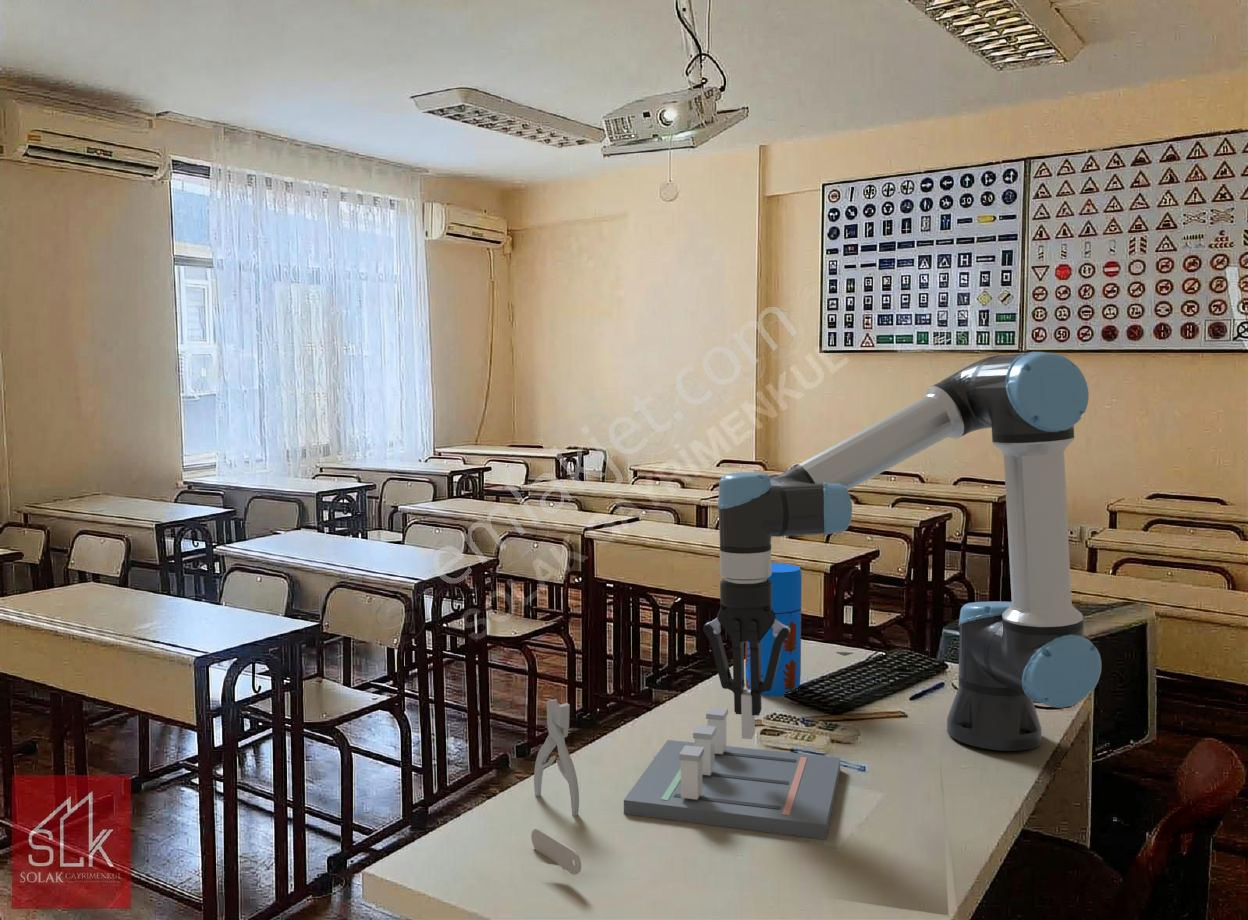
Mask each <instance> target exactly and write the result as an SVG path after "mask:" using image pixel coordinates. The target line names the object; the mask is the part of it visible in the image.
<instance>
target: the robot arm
mask: <svg viewBox="0 0 1248 920" xmlns="http://www.w3.org/2000/svg"><path fill="white" fill-rule="evenodd" d="M1089 399H1090V398H1089V387H1088V383H1087V380H1086V377H1085V375H1084V374H1083V372H1082V370H1081V368H1079V367H1078V366H1077V364H1075V363H1074V362H1073V361H1072V360H1071V359H1069V358H1068V357H1066V356H1064V355H1061V354H1058V353H1054V352H1043V351H1031V352H1025V353H1023V352H1022V353H1013V354H998V355H992V356H990V355H989V356H988V357H984V358H982V359H980V360H978V361H975V362H973V363H971V364H970V365H968V366H966V367H963V368H961V369H960V370H958V371H957V372H955V373H953V374H952V375H949V376H948V377H946V378H944V379H941V381H939V382H937V383H935V384H934V385H931V386H930V387H928V388H927V389H926V391H925V394H924V397H922V398H920V399H918V400H917V401H915V402H913V403H911V404H909V405H907V406H906V407H904V408H901V409H900V410H898V411H896V412H894V413H892V414H889V415H888V416H886V417H885V418H883V419H881V420H880V421H877V422H875V423H874V424H872V425H870V426H868V427H866V428H864V429H862V430H861V431H859V432H857V433H855V434H853V435H851V436H849V437H847V438H845V439H844V440H842V441H840V442H838V443H836V444H834V445H832V446H831V447H829V448H827V449H825V450H823V451H821V452H819V453H817V454H815V455H814V456H812V457H810V458H808V459H807V460H804V461H803V462H801V463H799V464H797V465H795V466H794V467H791V468H790V469H787V470H786V471H783V472H782V473H780V474H772V475H768V473H765V472H731V473H725V474H724V475H722V476H721V477H720V480H719V481H718V482H719V485H718V502H717V508H718V528H719V529H718V531H719V532H718V533H719V575H720V576H721V578H722V579H721V581H720V582H719V587H720V588H719V592H720V599H719V600H720V606H719V607H720V608H719V611H718V613H717V615H716V616H717V617H716V618H715V619H712V621H711V620H710V621H707V622H706V623H705V624H704V625H703V626H702V632H704V634H705V635H706V637H707V639H708V640H709V642H710V646H711V650H712V654H713V658H714V662H715V665H716V666H715V667H716V669H717V673H718V674H717V675H718V676H719V682H720V685H721V688H722V689H723V690H724V689H726V690H729V691H732V693H733V701H734V702H733V703H734V704H733V708H734V709H733V710H734V713H735V715H741V739H744V740H745V739H747V740H753V738H754V736H755V733H756V728H755V727H756V726H755V724H756V722H755V721H756V720H755V719H756V718H755V717H757V716H760V714H761V712H762V695H761V693H762V692H765V691H767V692H768V691H770V690H771V688H772V686H773V684H774V680H775V676H776V672H777V667H778V663H779V659H780V655H781V650H782V646H783V642H784V640H785V639H786V637H787V636H788V634H789V632H790V630H791V628H790V626H789V625H783V624H782V623H780V622H779V621H778V620H776V616H775V613H774V612H773V609H772V582H771V581H770V579H768V577H770V576H771V574H772V572H771V563H772V542H771V541H772V537H775V538H776V537H779V538H780V537H791V536H816V535H823V536H828V535H833V534H839V533H844V532H846V530H848V528H849V527H850V524H851V521H852V517H853V505H852V504H853V502H852V499H851V495H850V493H849V491H850V490H852V489H854V488H856V487H858V486H859V485H861V484H863V483H865V482H867V481H869V480H871V479H872V478H874V477H876V476H878V475H879V474H882V473H884V472H886V471H887V470H889V469H891V468H893V467H895V466H897V465H899V464H900V463H902V462H904V461H905V460H907V459H910V458H911V457H913V456H915V455H916V454H919V453H920V452H922V451H924V450H926V449H929V448H930V447H932V446H933V445H936V444H937V443H939V442H941V441H943V440H944V439H946V438H951V439H954V440H957V439H960V438H961V437H963V436H965V435H967V434H969V433H972V432H974V431H979V430H982V429H990V428H991V437H992V438H991V439H992V445H994V447H996V448H997V449H998V450H999V451H1001V452H1002V454H1003V465H1004V468H1003V469H1004V484H1005V485H1004V487H1005V502H1006V503H1005V505H1006V519H1007V521H1006V523H1007V539H1008V541H1007V542H1008V557H1009V561H1008V562H1009V575H1010V576H1009V578H1010V591H1011V596H1010V597H1011V601H1000V600H999V601H995V600H993V601H975V602H968V603H965V604H964V605H962V607H961V608H960V612H959V613H960V614H959V619H958V628H959V631H958V632H959V634H958V637H959V638H958V688H957V690H956V694H955V696H954V698H953V701H952V704H951V707H950V709H949V712H948V715H947V719H946V731H947V732H946V733H947V734H948V735H949V736H950V737H951V738H953V739H954V740H956V741H958V742H960V743H962V744H966V745H968V746H973V747H977V748H980V749H988V750H992V751H993V750H994V751H1006V752H1008V751H1011V752H1012V751H1013V752H1014V751H1024V750H1025V751H1026V750H1031V749H1035V748H1036V747H1038V746H1039V745H1040V744H1041V743H1042V734H1043V733H1042V725H1041V722H1040V718H1039V716H1038V713H1037V709H1036V706H1035V703H1039V704H1044V705H1045V706H1048V707H1051V708H1056V709H1057V708H1058V709H1059V708H1067V707H1072V706H1075V705H1076V704H1078V703H1081V702H1082V701H1083V700H1085V699H1086V698H1087V697H1088V695H1089V693H1090V692H1093V691H1094V689H1095V688H1096V687H1097V684H1098V682H1099V680H1100V678H1101V674H1102V659H1101V658H1102V657H1101V654H1100V651H1099V650H1098V648H1097V646H1095V645H1094V644H1093V642H1091V640H1089V639H1088V638H1086V637H1085V631H1084V630H1085V627H1084V615H1083V613H1082V612H1080V611H1079V610H1078V609H1077V608H1076V607H1075V606H1074V605H1073V604H1072V583H1071V581H1072V580H1071V565H1070V561H1071V560H1070V545H1069V526H1068V524H1069V523H1068V505H1067V486H1066V483H1067V482H1066V467H1065V466H1066V465H1065V463H1066V462H1065V450H1066V449H1067V448H1068V447H1069V446H1070V445H1071V444H1072V443H1073V442H1074V440H1075V425H1076V424H1077V423H1078V422H1079V421H1080V420H1081V419H1082V415H1084V414H1086V410H1087V409H1088V408H1087V407H1088V404H1089ZM771 626H772V627H773V636H774V637H775V640H774V643H773V647H772V651H771V655H770V659H769V664H768V668H767V672H766V677H765V681H762V677H761V639H762V638H763V637H764V636H765V634H766V633H767V632H768V630H769V629H770V628H771ZM721 627H722V628H723V630H724V631H725V632H726V634H727V636H729V638H730V639H731V648H732V673H731V669H730V666H729V662H728V658H727V655H726V649H725V647H724V643H723V642H724V641H723V638H722V635H721V631H722V628H721ZM746 641H748V642H749V646H750V667H751V690H748V689H745V687H746V683H745V646H744V645H745V642H746ZM732 674H733V675H732ZM1034 702H1035V703H1034Z"/></svg>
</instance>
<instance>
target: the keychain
mask: <svg viewBox="0 0 1248 920" xmlns="http://www.w3.org/2000/svg"><path fill="white" fill-rule="evenodd" d="M531 843H532V846H533V848H534V849H535V850H536V851H538V852H539V853H540V854H542V855H544V856H545V857H547V858H548V859H550V860H551V861H553V862H554V863H556V864H557V865H558V866H559V867H561V868H562V869H564V870H565V871H567V872H569V873H570V874H571V875H574V876H575V875H579V874H580V873H581V870H582V862H581V858H580V855H579V853H578V852H577V851H576V850H575V849H574V848H572V847H570V846H569V845H566V844H565V843H564V842H562V841H560V840H558V839H557V838H555V837H553V836H552V835H550V834H548V833H547V832H545V831H544V830H542V829H541V828H537V827H536V828H534V829H533V830H532V831H531Z"/></svg>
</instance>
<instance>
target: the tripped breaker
mask: <svg viewBox="0 0 1248 920" xmlns="http://www.w3.org/2000/svg"><path fill="white" fill-rule="evenodd" d="M715 733H716V727H715V726H708V725H704V724H703V725H702V724H697V726H696V728H694V730H693V732H692V738H693V739H694V743H695V746H697V747H704V754H703V764H702V775H711V773H712V772H713V770H714V768H715Z"/></svg>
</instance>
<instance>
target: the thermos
mask: <svg viewBox="0 0 1248 920" xmlns="http://www.w3.org/2000/svg"><path fill="white" fill-rule="evenodd" d="M771 572H772V574H771V576H770V577H768V579H770V581H771V582H772V609H773V612H774V613H775V616H776V620H778V621H779V622H780V623H782V624H783V625H789V626H790V628H791V630H790V632H789V634H788V636H787V637H786V639H785V640H784V642H783V646H782V650H781V655H780V659H779V663H778V667H777V672H776V676H775V680H774V684H773V686H772V688H771V690H770V691H768V692H767V691H765V692H762V693H761V696H762V695H763V696H767V697H770V696H771V697H781V696H785V695H784V694H785V693H786V692H788V691H791V690H793V689H795V688H798V687H799V686H800V687H801V675H802V674H801V673H802V672H801V671H802V670H801V669H802V668H801V667H802V665H801V664H802V662H801V661H802V570H801V567H800V566H798V565H794V564H789V563H775V562H774V563H773V562H771ZM774 640H775V637H774V636H773V627H772V626H771V628H770V629H769V630H768V632H767V633H766V634H765V636H764V637H763V638H762V639H761V677H762V681H765V677H766V672H767V668H768V664H769V659H770V655H771V651H772V647H773V643H774ZM744 676H745V688H747V689H746V690H751V667H750V646H749V642H748V641H745V653H744Z"/></svg>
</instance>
